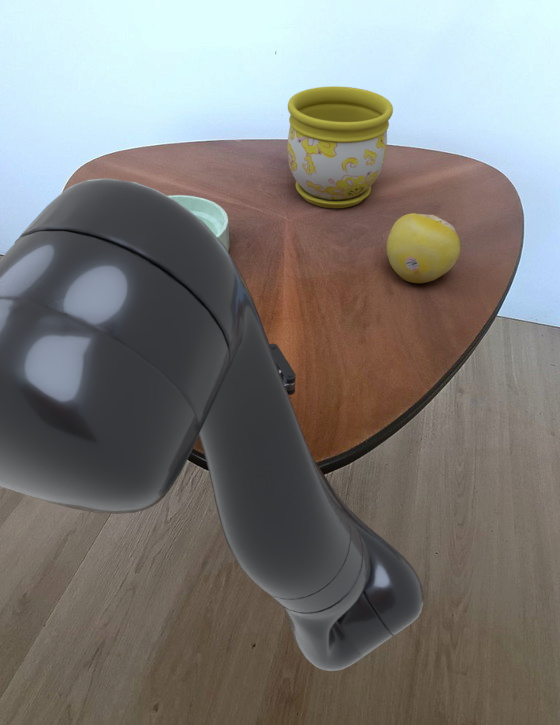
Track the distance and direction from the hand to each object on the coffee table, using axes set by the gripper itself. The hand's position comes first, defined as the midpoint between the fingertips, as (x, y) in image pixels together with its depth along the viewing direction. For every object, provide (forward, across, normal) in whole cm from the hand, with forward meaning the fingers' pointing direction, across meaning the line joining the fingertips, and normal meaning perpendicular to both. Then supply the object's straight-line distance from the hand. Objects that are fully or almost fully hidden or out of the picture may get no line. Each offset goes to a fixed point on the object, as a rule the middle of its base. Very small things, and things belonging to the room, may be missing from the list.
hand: (202, 344), depth 63 cm
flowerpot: (+38, -40, +8) cm, 56 cm away
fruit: (+9, -38, +8) cm, 40 cm away
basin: (+31, -7, +8) cm, 33 cm away
